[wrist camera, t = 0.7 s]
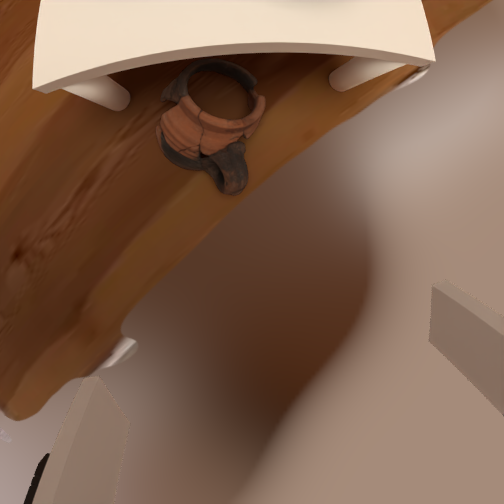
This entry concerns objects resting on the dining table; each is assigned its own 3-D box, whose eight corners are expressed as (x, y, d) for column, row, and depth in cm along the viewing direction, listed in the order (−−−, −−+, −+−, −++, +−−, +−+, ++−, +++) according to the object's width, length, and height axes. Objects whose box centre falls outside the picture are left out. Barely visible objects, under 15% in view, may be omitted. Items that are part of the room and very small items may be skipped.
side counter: (105, 114, 26) (32, 89, 13) (106, 0, 22) (57, -65, 8) (353, 92, 28) (435, 61, 15) (334, -16, 24) (390, -79, 10)
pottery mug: (137, 116, 27) (147, 61, 19) (218, 93, 31) (247, 45, 23) (187, 223, 27) (214, 194, 20) (269, 187, 31) (315, 154, 24)
